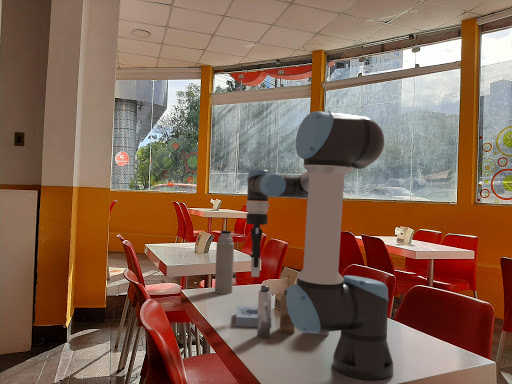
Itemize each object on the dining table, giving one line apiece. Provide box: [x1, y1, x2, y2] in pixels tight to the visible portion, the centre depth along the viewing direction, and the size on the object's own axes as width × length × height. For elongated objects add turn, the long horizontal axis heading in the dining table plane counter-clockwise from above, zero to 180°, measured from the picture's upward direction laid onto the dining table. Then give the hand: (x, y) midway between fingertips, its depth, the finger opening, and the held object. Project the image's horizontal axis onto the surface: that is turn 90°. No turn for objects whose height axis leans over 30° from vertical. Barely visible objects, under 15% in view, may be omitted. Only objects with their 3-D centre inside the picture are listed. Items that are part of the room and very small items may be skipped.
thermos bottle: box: [214, 230, 235, 295], centre depth 184 cm, size 8×8×28 cm
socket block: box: [235, 305, 272, 328], centre depth 142 cm, size 14×12×3 cm
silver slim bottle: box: [256, 284, 272, 339], centre depth 126 cm, size 4×4×16 cm
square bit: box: [279, 287, 296, 334], centre depth 132 cm, size 4×4×14 cm
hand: (254, 273), depth 142 cm, fingers open, 13 cm apart
